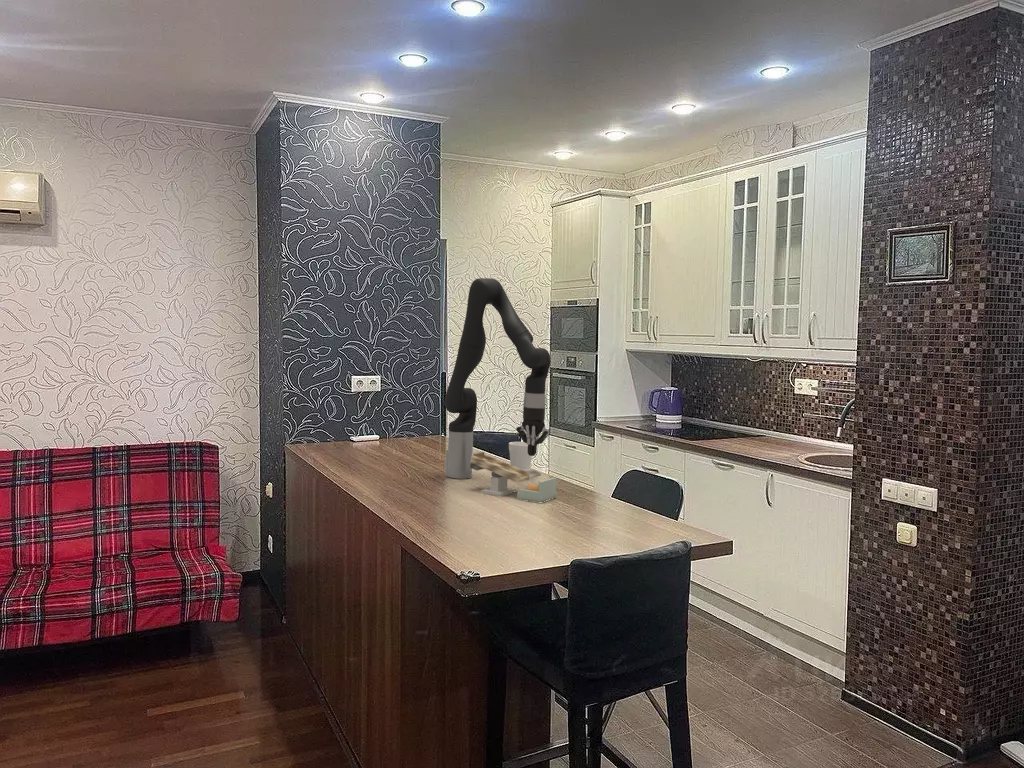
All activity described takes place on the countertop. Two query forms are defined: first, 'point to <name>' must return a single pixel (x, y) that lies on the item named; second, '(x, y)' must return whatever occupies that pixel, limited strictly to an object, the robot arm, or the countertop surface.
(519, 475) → the board
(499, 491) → the lever stand
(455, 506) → the countertop surface
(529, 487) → the ball
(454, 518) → the countertop surface
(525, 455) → the foam cup
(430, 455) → the countertop surface
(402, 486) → the countertop surface
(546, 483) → the bin
